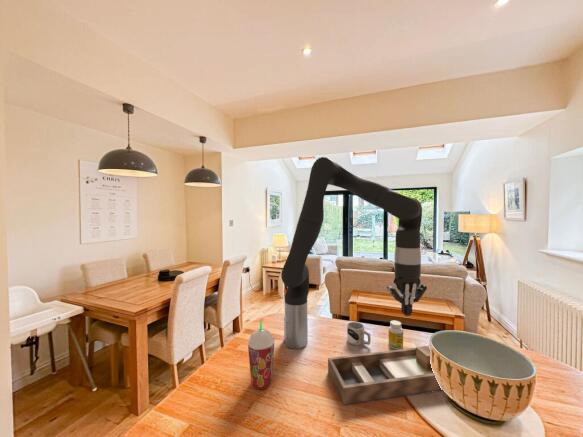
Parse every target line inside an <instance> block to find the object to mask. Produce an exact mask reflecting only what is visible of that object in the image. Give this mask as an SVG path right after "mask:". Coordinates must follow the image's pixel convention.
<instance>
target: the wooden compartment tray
mask: <svg viewBox="0 0 583 437" xmlns="http://www.w3.org/2000/svg"><path fill="white" fill-rule="evenodd" d="M327 374H328V375H329V377H330V380H331V382H332V384H333V386H334V388H335V391H336V392H337V395H338V397H339V399H340V401H341V403H342V406H349V405H357V404H362V403H369V402H374V401H375V402H376V401H381V400H382V401H383V400H389V399H395V398H401V397H408V395H410V396H416V395H422V393H423V394H427V393H426V392H429V393H433V392H432V391H436V392H442V390H441V388H440V386H439V384H438V382H437V380H436V378H435V375H434V373H433V371H426V370H425V369H424V368H423V367H421V366H420V365H419V364H418V363H417V362H416V347H411V348H410V347H409V348H402V349H400V350H396V349H392V350H384V351H383V350H382V351H377V352H376V351H375V352H368V353H360V354H349V355H344V356H341V355H340V356H334V357H332V356H331V357H327Z"/></svg>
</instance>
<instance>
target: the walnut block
mask: <svg viewBox="0 0 583 437" xmlns="http://www.w3.org/2000/svg"><path fill="white" fill-rule="evenodd" d="M429 346H430V345H424V346H417V347H415V348H416V362H417V363H418V364H419V365H420V366H421V367H423V368H424V369H425V370H426V371H432V368H431V364H430V349H429Z"/></svg>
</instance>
